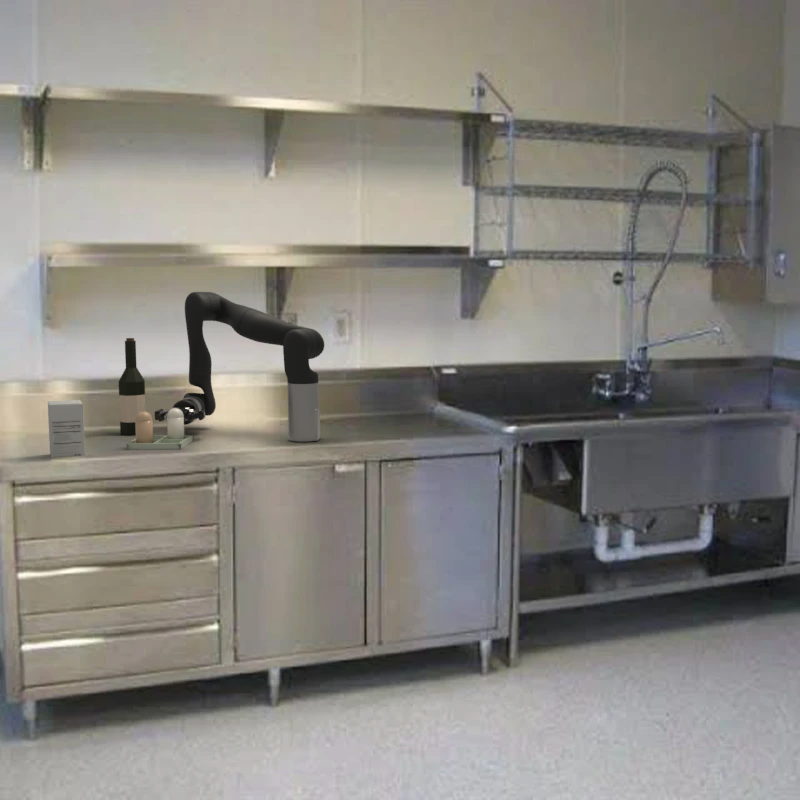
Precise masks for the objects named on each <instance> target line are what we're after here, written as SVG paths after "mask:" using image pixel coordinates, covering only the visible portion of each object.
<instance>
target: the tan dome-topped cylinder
mask: <svg viewBox="0 0 800 800" xmlns="http://www.w3.org/2000/svg"><path fill="white" fill-rule="evenodd" d="M135 427H136V436H135V438H136V443H153V435H154V422H153V416H152V414H151V413H149V411H142V412H140V413H138V414H137V415H136V418H135Z"/></svg>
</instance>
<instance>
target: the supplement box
mask: <svg viewBox="0 0 800 800" xmlns="http://www.w3.org/2000/svg"><path fill="white" fill-rule="evenodd" d="M47 417H48V437H49V438H48V439H49V440H48V441H49V453H50V457H51V459H53V458H59V457H60V458H61V457H75V456H76V457H77V456H78V457H79V456H85V455H86V448H85V423H84V422H85V421H84V418H85V417H84V403H83V402H82V401H81V399H73V400H72V399H71V400H50V401H47Z"/></svg>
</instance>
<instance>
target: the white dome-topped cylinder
mask: <svg viewBox="0 0 800 800" xmlns="http://www.w3.org/2000/svg"><path fill="white" fill-rule="evenodd" d="M172 408H173V407H172ZM172 408H170V409H171V410H169V411H168V413H167V420H166V427H167V428H166V429H167V433H166V435H168V439H184V435H185V425H184V414H183V412H182V411H181V410H180V409H178V408H173V409H172Z"/></svg>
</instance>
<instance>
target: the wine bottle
mask: <svg viewBox="0 0 800 800" xmlns="http://www.w3.org/2000/svg"><path fill="white" fill-rule="evenodd" d="M136 345H137V342H136V340H135V338H134V337H126V339H125V341H124V352H125V354H124V355H125V369H124V371H123V372H122V374H121V377H120V378H119V380H118V399H119V400H118V401H119V402H118V404H119V405H118V406H119V427H120V434H119V435H120V436H124V437H126V436H127V437H133V436H132V435H136V427H135V418H136V415H137V414H138V413H140V412H142V411H146V410H147V409H146V407H147V406H146V384H145V383H146V382H145V379H144V377H143V375H142V374H141V372H140V371H139V369H138V367H137V347H136ZM146 412H147V411H146Z"/></svg>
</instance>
